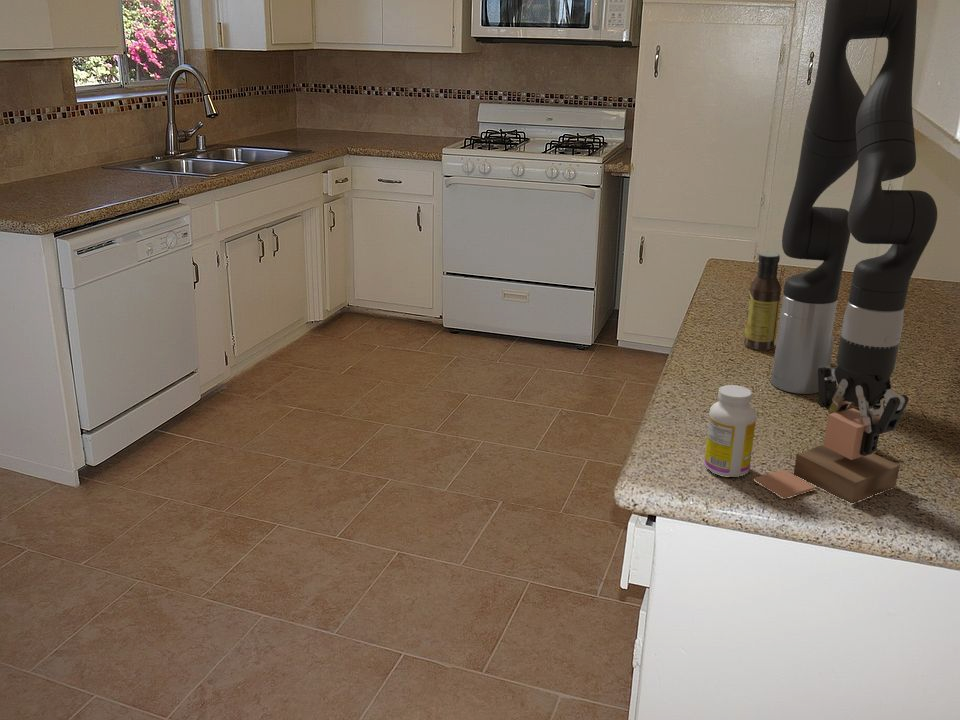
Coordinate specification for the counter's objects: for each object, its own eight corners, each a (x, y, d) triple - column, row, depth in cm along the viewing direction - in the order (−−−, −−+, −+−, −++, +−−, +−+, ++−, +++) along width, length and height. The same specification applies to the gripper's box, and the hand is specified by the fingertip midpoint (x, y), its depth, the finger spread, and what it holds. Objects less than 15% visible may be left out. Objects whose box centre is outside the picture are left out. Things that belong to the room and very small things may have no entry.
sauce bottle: (754, 339, 186) (766, 248, 179) (780, 347, 182) (793, 254, 175) (736, 345, 183) (748, 252, 175) (762, 353, 178) (775, 258, 171)
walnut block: (836, 462, 135) (840, 438, 133) (894, 489, 127) (899, 465, 126) (793, 478, 130) (796, 454, 128) (850, 508, 122) (855, 482, 121)
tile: (783, 472, 131) (783, 469, 130) (814, 490, 126) (815, 486, 125) (753, 481, 128) (753, 477, 128) (784, 500, 123) (784, 496, 123)
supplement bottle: (741, 458, 135) (751, 382, 130) (755, 479, 129) (766, 399, 124) (698, 459, 135) (706, 382, 130) (710, 480, 128) (719, 400, 124)
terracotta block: (847, 438, 130) (852, 408, 128) (875, 452, 125) (881, 421, 124) (823, 445, 127) (828, 414, 126) (851, 459, 123) (857, 427, 121)
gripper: (934, 347, 116) (910, 461, 122) (847, 317, 128) (829, 422, 134) (896, 356, 113) (873, 473, 119) (810, 324, 124) (793, 432, 131)
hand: (850, 445), depth 126 cm, fingers closed on terracotta block, 4 cm apart
